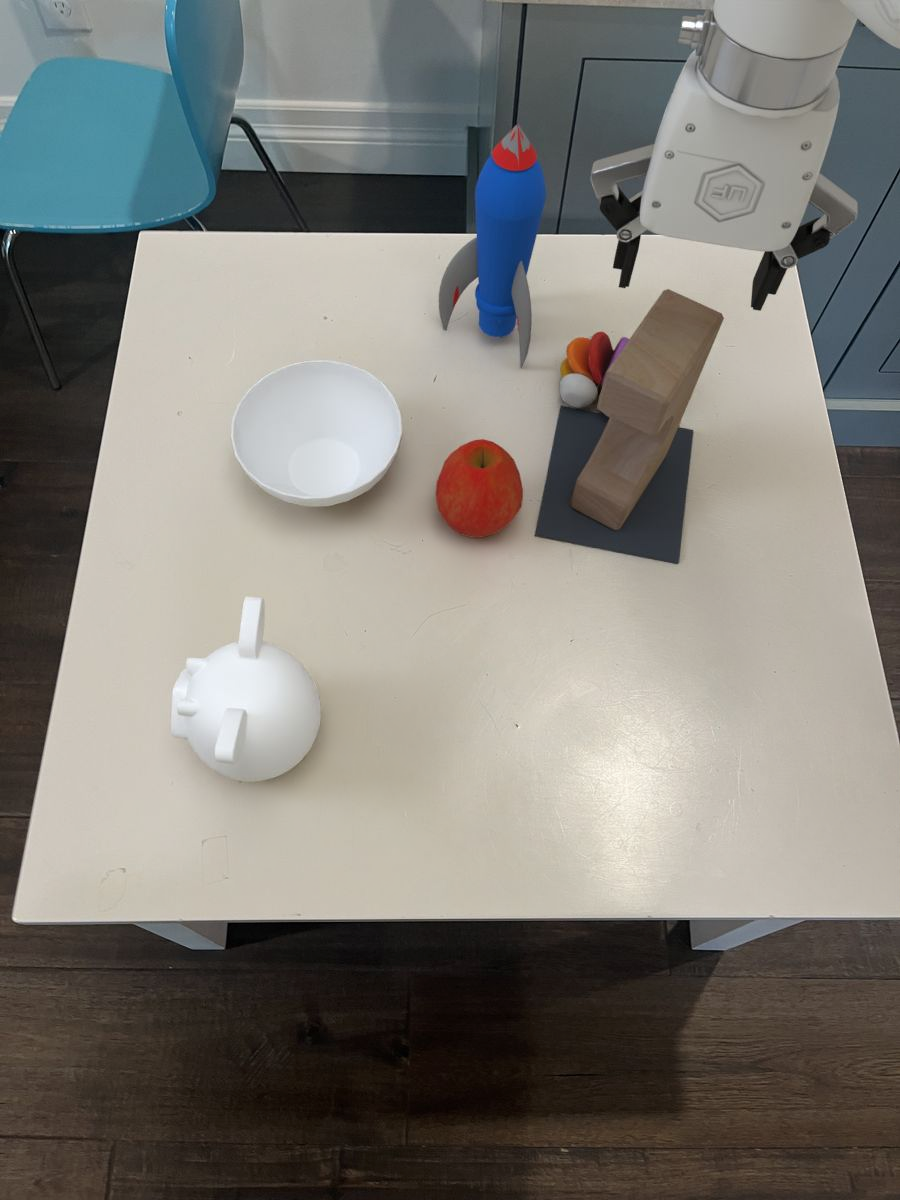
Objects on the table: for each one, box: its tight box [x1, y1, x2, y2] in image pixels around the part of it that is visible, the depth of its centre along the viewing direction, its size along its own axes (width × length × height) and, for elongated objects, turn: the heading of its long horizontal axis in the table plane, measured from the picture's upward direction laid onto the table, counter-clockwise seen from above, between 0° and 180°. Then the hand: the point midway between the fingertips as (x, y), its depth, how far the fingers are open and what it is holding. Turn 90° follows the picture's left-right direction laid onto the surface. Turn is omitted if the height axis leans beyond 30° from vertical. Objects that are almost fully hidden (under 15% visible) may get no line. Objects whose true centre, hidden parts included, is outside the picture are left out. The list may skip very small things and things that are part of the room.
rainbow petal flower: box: [559, 331, 630, 418], centre depth 90 cm, size 8×10×7 cm
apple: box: [435, 438, 524, 538], centre depth 81 cm, size 8×8×11 cm
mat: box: [534, 404, 694, 565], centre depth 88 cm, size 14×16×1 cm
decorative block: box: [570, 289, 725, 530], centre depth 79 cm, size 11×6×20 cm, turn 147°
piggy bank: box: [170, 595, 322, 782], centre depth 69 cm, size 12×12×15 cm
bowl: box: [230, 359, 403, 507], centre depth 85 cm, size 16×16×7 cm
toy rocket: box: [438, 123, 547, 369], centre depth 85 cm, size 11×10×25 cm
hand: (690, 285), depth 64 cm, fingers open, 9 cm apart
